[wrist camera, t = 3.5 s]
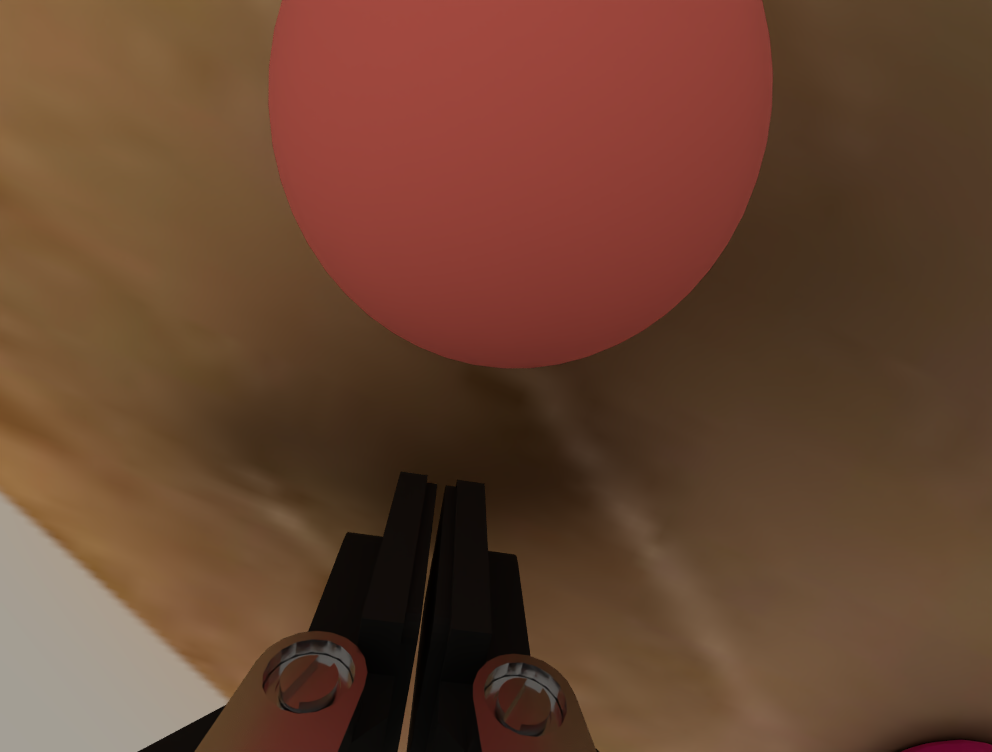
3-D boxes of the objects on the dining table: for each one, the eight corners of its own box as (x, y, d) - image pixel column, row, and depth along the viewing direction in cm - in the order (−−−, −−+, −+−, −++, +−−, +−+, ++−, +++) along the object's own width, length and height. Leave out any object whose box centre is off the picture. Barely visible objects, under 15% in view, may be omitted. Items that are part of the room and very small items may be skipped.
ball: (705, 20, 9) (1080, -286, 4) (614, 346, 11) (769, 492, 5) (362, -73, 9) (153, -618, 3) (321, 288, 10) (137, 381, 5)
